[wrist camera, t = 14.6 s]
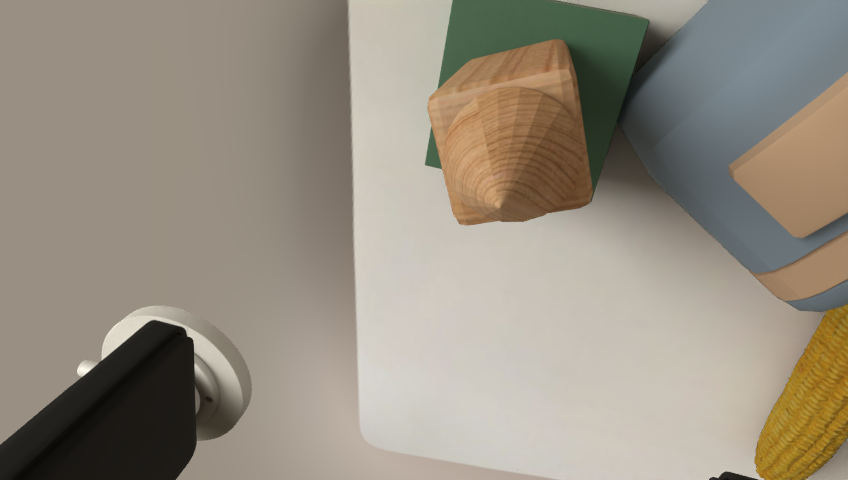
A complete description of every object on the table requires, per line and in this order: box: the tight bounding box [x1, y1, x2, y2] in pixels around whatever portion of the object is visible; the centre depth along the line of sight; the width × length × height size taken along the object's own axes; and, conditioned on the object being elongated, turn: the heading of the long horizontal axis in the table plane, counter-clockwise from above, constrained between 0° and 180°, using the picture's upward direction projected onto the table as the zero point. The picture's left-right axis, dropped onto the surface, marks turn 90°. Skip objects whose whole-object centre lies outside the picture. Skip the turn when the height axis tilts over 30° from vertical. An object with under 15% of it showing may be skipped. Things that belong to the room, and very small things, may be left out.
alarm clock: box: [617, 0, 848, 312], centre depth 32 cm, size 16×16×16 cm
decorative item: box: [428, 39, 593, 225], centre depth 28 cm, size 7×7×20 cm
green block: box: [425, 0, 649, 202], centre depth 39 cm, size 12×12×6 cm
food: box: [755, 304, 848, 480], centre depth 44 cm, size 21×6×6 cm, turn 173°
